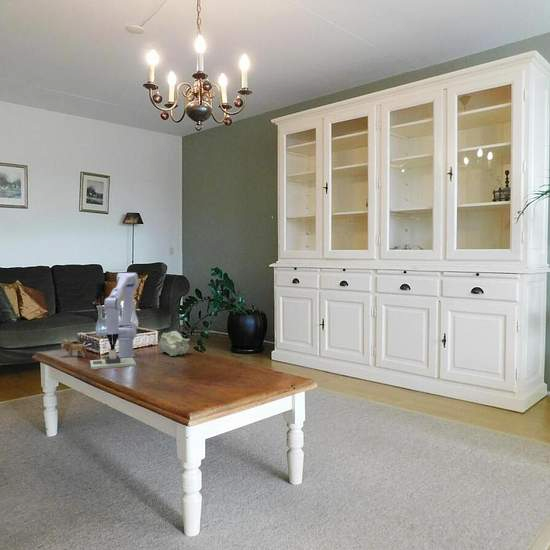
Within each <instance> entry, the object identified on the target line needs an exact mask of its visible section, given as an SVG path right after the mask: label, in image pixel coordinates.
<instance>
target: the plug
mask: <svg viewBox="0 0 550 550" xmlns="http://www.w3.org/2000/svg"><path fill="white" fill-rule="evenodd" d="M108 356H109V359H116V356H117V349H116V348H114V350H111V348H108Z"/></svg>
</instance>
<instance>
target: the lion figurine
mask: <svg viewBox="0 0 550 550" xmlns="http://www.w3.org/2000/svg"><path fill="white" fill-rule="evenodd" d="M60 346H61V349H63V350H64V351H66V352H68V355H67V357H68V358H70V357H72V356H73V352H78V351H79V352H80V357H82V358H86V356H88V357H90V356H91V355H90V354H88V353H87V350H86V346H85V345H84V344H82V343H79V344H75V343H74V342H73V341H70V340H69V339H62V340H61V344H60Z"/></svg>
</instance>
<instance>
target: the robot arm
mask: <svg viewBox="0 0 550 550" xmlns="http://www.w3.org/2000/svg"><path fill="white" fill-rule="evenodd" d="M116 283H117V284H116V286H115V287H114V288H113V289H112V290H111V292H110V294H109V296H108V297H106V298H104V302H103V307H104V313H106V314H105V316H106V317H105V322H106V325H105V327H106V328H105V330H102V331H101V330H100V331H99V330H98V331H96V337H101V336H106V337H107V340H108V342H109V346H110V349H111V350H114V348H115V347H116V343H117V341H118V353H116V356H119V357H120V358H131V357H132V358H133V357H135V354H134V339H135V338H136V337H137V324H136V323H135V322H133V320H132V317H133V306H134V295H135V290H137V289H138V285H139V275H138V273H137V272H118V273H117V275H116ZM122 298H123V305H122V312H121V313H122V314H121V315H122V317H121V320H120V321H119V319H120V317H119V316H120V315H119V313H120V312H119V311H120V308H121V304H122ZM115 349H116V348H115Z"/></svg>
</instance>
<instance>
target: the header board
mask: <svg viewBox="0 0 550 550" xmlns="http://www.w3.org/2000/svg"><path fill="white" fill-rule="evenodd" d="M89 362H90V363H89V364H90V369H91V370H98V369H99V368H102V369H113V368H114V367H115V368H124V367H123V366H128V367H136V366H137V363H136V361H135V359H134V358H133V357H123V358H120V357H119V356H118V355H116V359H109V355H108V356H105V357H104V359H103V358H102V359H93V360H91V359H90V360H89Z"/></svg>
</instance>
